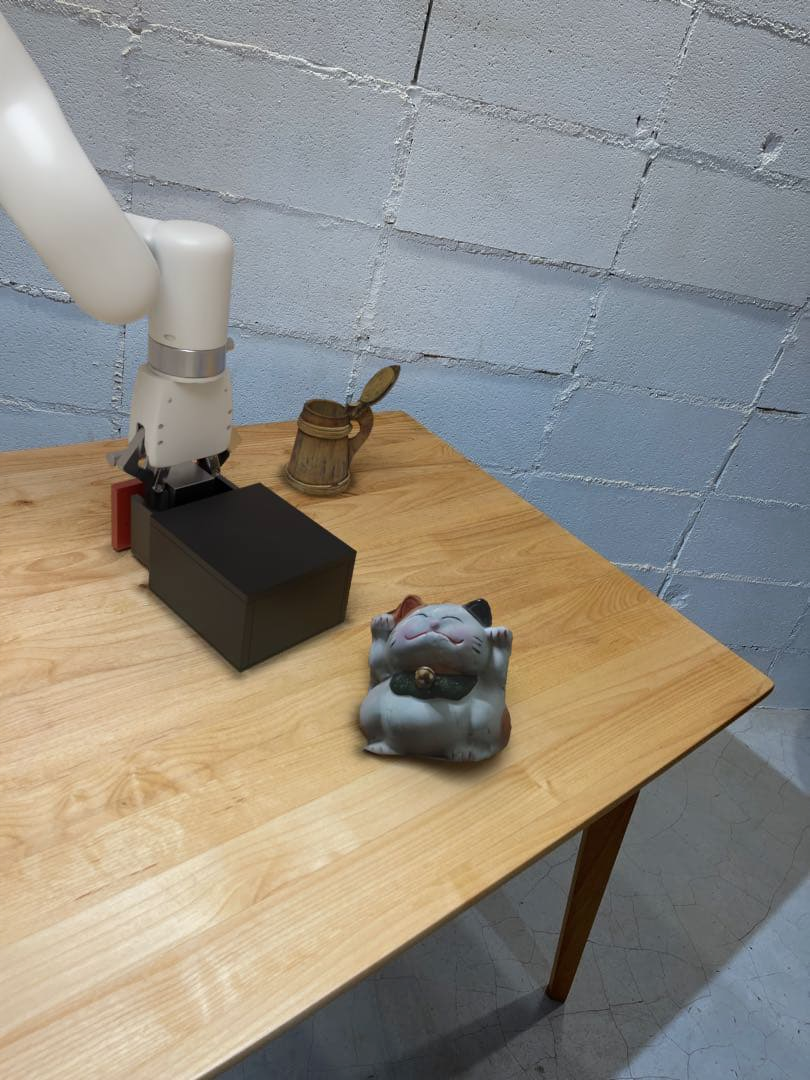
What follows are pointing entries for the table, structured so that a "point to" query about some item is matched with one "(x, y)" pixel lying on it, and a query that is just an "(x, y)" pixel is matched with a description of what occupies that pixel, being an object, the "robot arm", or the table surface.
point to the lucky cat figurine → (437, 682)
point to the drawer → (139, 511)
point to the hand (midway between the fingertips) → (179, 508)
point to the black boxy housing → (249, 573)
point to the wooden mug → (334, 437)
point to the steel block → (188, 484)
